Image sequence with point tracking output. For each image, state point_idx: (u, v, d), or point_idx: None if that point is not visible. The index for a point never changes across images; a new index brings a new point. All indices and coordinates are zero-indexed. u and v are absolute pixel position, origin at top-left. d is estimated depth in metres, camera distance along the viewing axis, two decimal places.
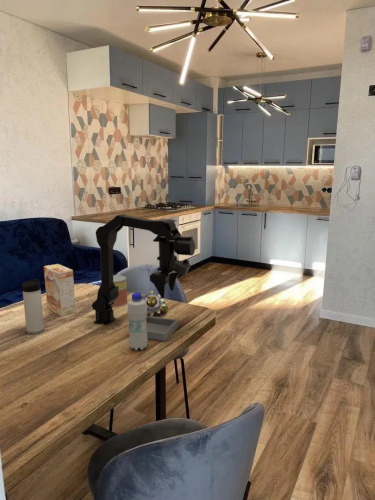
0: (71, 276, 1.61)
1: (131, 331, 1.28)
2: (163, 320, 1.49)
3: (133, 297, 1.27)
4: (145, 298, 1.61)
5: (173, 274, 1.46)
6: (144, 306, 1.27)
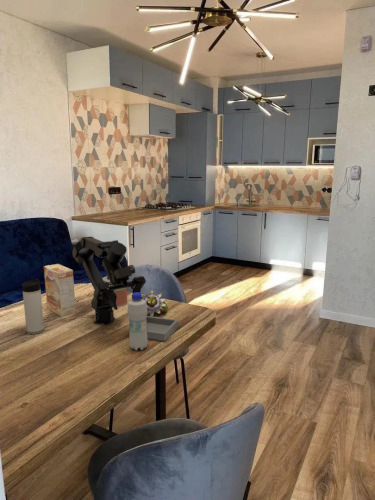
0: (71, 276, 1.61)
1: (131, 331, 1.28)
2: (163, 320, 1.49)
3: (133, 297, 1.27)
4: (145, 298, 1.61)
5: (135, 288, 1.40)
6: (144, 306, 1.27)
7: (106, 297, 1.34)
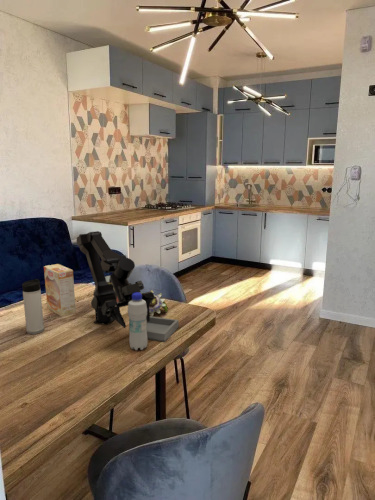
0: (71, 276, 1.61)
1: (131, 331, 1.28)
2: (163, 320, 1.49)
3: (133, 297, 1.27)
4: None
5: None
6: (144, 306, 1.27)
7: (114, 314, 1.30)
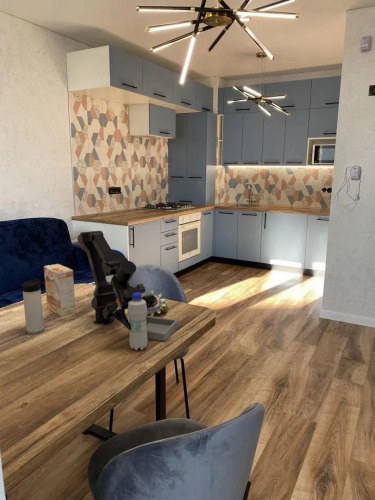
0: (71, 276, 1.61)
1: (131, 331, 1.28)
2: (163, 320, 1.49)
3: (133, 297, 1.27)
4: None
5: None
6: (144, 306, 1.27)
7: (119, 316, 1.31)
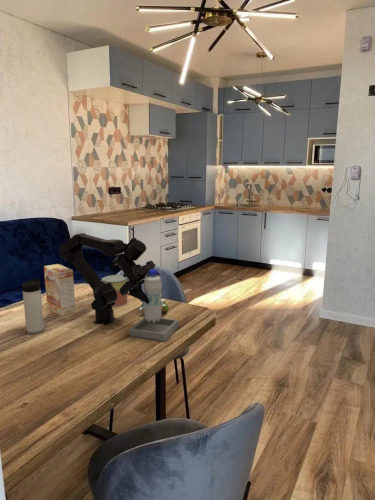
0: (71, 276, 1.61)
1: (149, 305, 1.38)
2: (163, 320, 1.49)
3: (151, 273, 1.37)
4: None
5: None
6: (160, 281, 1.38)
7: (135, 293, 1.38)
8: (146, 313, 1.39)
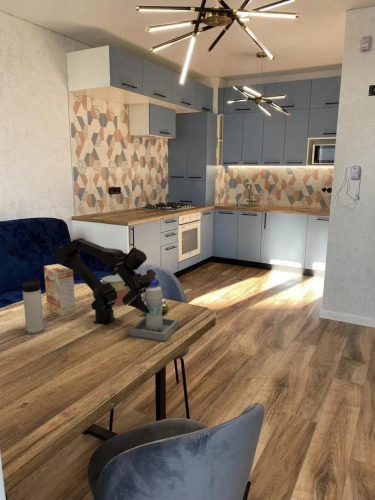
0: (71, 276, 1.61)
1: (151, 315, 1.41)
2: (163, 320, 1.49)
3: (152, 284, 1.39)
4: None
5: None
6: (161, 291, 1.41)
7: (135, 303, 1.39)
8: (148, 323, 1.42)
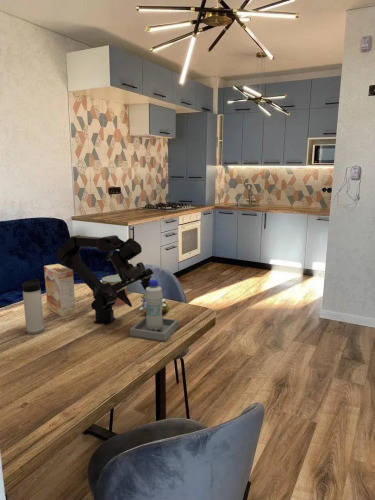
0: (71, 276, 1.61)
1: (151, 315, 1.41)
2: (163, 320, 1.49)
3: (152, 284, 1.39)
4: None
5: (144, 281, 1.47)
6: (161, 291, 1.41)
7: (119, 295, 1.41)
8: (148, 323, 1.42)
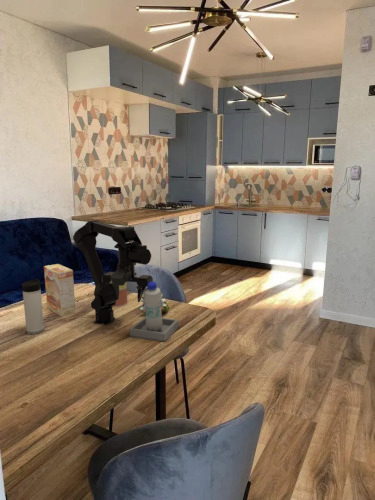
0: (71, 276, 1.61)
1: (151, 317, 1.39)
2: (163, 320, 1.49)
3: (150, 287, 1.36)
4: None
5: None
6: (160, 293, 1.38)
7: None
8: (148, 324, 1.41)
